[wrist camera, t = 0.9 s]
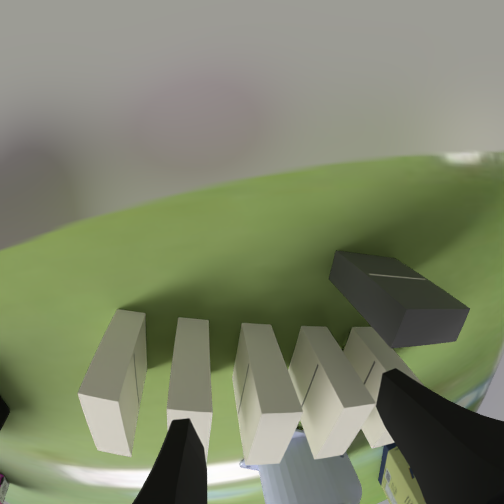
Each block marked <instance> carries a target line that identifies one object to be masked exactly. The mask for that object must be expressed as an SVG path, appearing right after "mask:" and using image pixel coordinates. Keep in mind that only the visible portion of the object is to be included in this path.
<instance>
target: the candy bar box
mask: <svg viewBox="0 0 504 504" xmlns="http://www.w3.org/2000/svg"><path fill="white" fill-rule="evenodd" d="M8 487H9V482H8V481H7V479H6V477H5V476H4V475H2V474H0V504H3V501H4V499H5V496H6V493H7V490H8Z"/></svg>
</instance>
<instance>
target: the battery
mask: <svg viewBox="0 0 504 504" xmlns="http://www.w3.org/2000/svg"><path fill="white" fill-rule="evenodd" d="M9 413H10V410H9V408H8V407H7V405H6V404H5V403H4V401H3V400H2V399H1V397H0V430H1V428H2V426H3V424H4V423H5V421H6V419H7V417H8V415H9Z"/></svg>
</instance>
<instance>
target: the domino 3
mask: <svg viewBox="0 0 504 504" xmlns="http://www.w3.org/2000/svg"><path fill="white" fill-rule="evenodd" d="M232 379H233V386H234V394H235V401H236V408H237V415H238V421H239V428H240V435H241V441H242V447H243V454H244V460H245V465H263V464H278V463H280V462H281V460H282V457H283V455H284V453H285V451H286V449H287V447H288V445H289V443H290V441H291V439H292V436H293V434H294V432H295V430H296V428H297V425H298V423H299V421H300V418H301V416H302V414H303V410H302V407H301V404H300V402H299V399H298V396H297V394H296V391H295V388H294V386H293V383H292V380H291V378H290V375H289V372H288V369H287V367H286V364H285V361H284V359H283V356H282V353H281V351H280V348H279V345H278V342H277V340H276V337H275V334H274V332H273V329H272V326H271V325H270V324H253V323H242V324H241V330H240V336H239V342H238V347H237V353H236V359H235V365H234V370H233V376H232Z"/></svg>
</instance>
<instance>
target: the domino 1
mask: <svg viewBox="0 0 504 504" xmlns="http://www.w3.org/2000/svg"><path fill="white" fill-rule="evenodd" d="M146 373H147V353H146V313H142V312H134V311H127V310H120V309H117V310H116V312H115V314H114V316H113V318H112V320H111V322H110V324H109V326H108V328H107V330H106V332H105V334H104V336H103V338H102V340H101V342H100V344H99V346H98V349H97V351H96V353H95V355H94V357H93V359H92V361H91V364H90V366H89V368H88V370H87V373H86V375H85V377H84V379H83V382H82V384H81V386H80V389H79V391H78V396H79V399H80V402H81V406H82V409H83V412H84V415H85V418H86V421H87V424H88V426H89V429H90V432H91V434H92V437H93V440H94V442H95V445H96V447H97V450H99V451H103V452H108V453H113V454H118V455H123V456H129V457H131V455H132V449H133V442H134V436H135V430H136V424H137V419H138V413H139V408H140V403H141V398H142V393H143V388H144V383H145V378H146Z"/></svg>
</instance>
